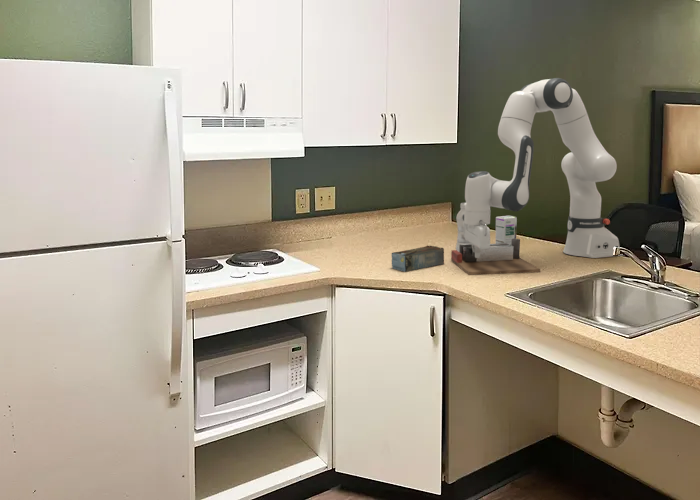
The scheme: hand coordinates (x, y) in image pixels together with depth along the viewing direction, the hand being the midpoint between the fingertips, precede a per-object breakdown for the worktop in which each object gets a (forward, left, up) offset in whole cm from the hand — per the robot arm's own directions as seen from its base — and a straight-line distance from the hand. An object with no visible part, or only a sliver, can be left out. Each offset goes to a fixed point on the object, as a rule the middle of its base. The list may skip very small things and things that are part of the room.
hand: (476, 257), depth 221 cm
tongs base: (-6, 0, -4) cm, 7 cm away
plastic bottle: (-2, -21, -4) cm, 22 cm away
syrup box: (-18, -20, -4) cm, 27 cm away
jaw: (-6, -5, -2) cm, 8 cm away
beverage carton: (+20, -5, -4) cm, 21 cm away
